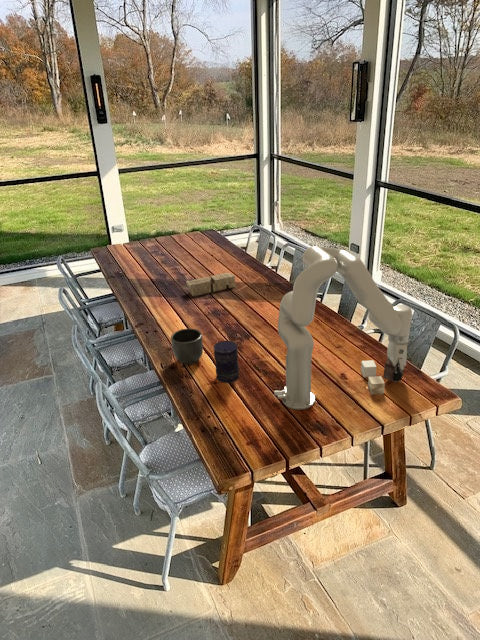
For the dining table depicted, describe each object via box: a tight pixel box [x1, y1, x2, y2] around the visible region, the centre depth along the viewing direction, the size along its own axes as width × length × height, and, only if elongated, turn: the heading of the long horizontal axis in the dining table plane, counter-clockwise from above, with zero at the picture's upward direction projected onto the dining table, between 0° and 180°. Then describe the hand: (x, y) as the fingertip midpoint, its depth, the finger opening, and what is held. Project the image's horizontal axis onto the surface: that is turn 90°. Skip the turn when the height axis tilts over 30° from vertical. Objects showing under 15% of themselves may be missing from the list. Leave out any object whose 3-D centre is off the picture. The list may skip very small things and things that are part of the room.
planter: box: [170, 328, 204, 366], centre depth 209 cm, size 14×14×13 cm
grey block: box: [360, 359, 377, 378], centre depth 193 cm, size 5×5×5 cm
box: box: [382, 359, 405, 383], centre depth 186 cm, size 6×6×7 cm
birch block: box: [367, 375, 386, 395], centre depth 182 cm, size 5×5×5 cm
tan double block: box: [185, 272, 236, 297], centre depth 284 cm, size 8×8×29 cm
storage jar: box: [213, 340, 240, 384], centre depth 195 cm, size 10×10×15 cm
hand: (393, 374), depth 187 cm, fingers closed on box, 8 cm apart
